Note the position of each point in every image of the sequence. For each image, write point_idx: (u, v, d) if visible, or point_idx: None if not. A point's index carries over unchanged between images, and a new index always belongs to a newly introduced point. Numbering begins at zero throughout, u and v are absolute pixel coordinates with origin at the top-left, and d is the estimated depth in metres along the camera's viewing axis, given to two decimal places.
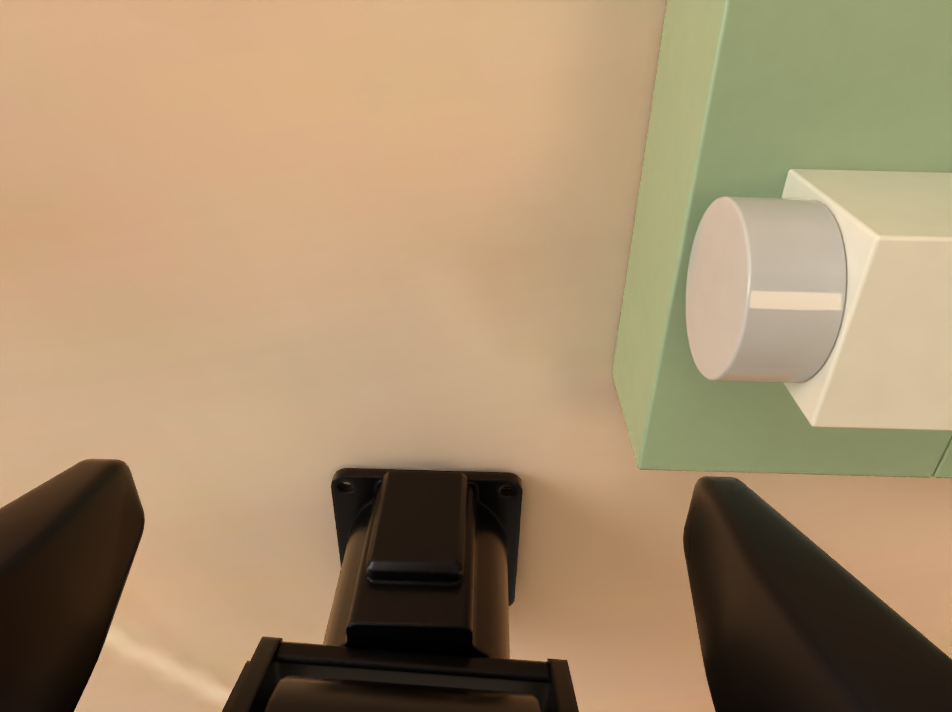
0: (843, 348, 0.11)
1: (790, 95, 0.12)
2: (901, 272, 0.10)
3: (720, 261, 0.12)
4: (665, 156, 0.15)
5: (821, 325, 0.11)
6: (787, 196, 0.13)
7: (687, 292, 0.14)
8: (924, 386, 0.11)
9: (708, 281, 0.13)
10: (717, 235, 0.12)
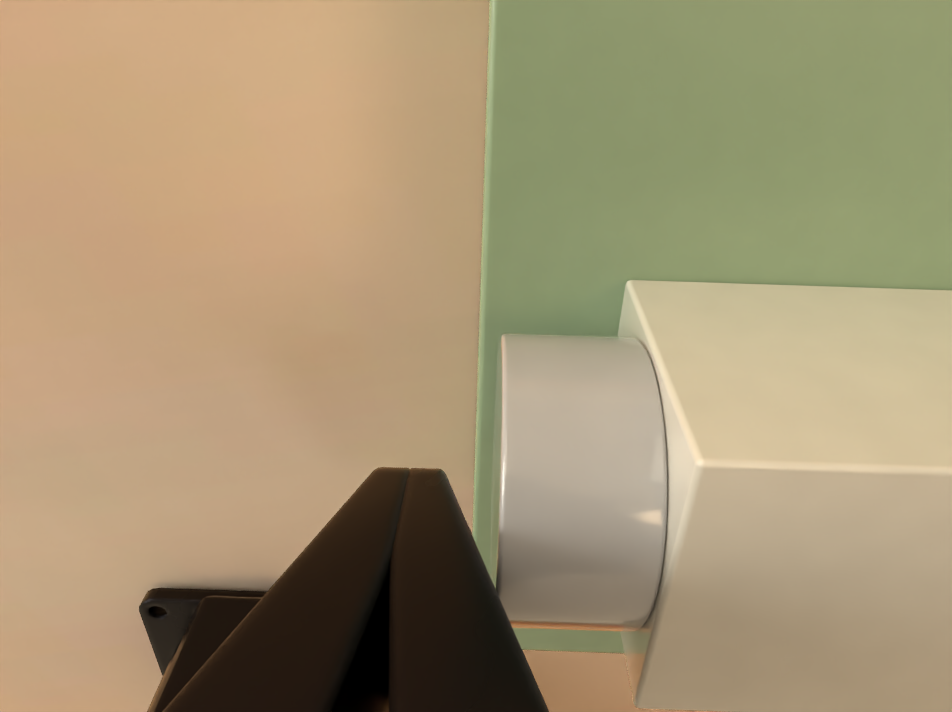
0: (666, 615, 0.07)
1: (610, 174, 0.08)
2: (747, 515, 0.06)
3: (497, 439, 0.08)
4: None
5: (627, 579, 0.07)
6: (624, 321, 0.09)
7: None
8: (807, 664, 0.07)
9: (495, 455, 0.08)
10: (498, 393, 0.08)
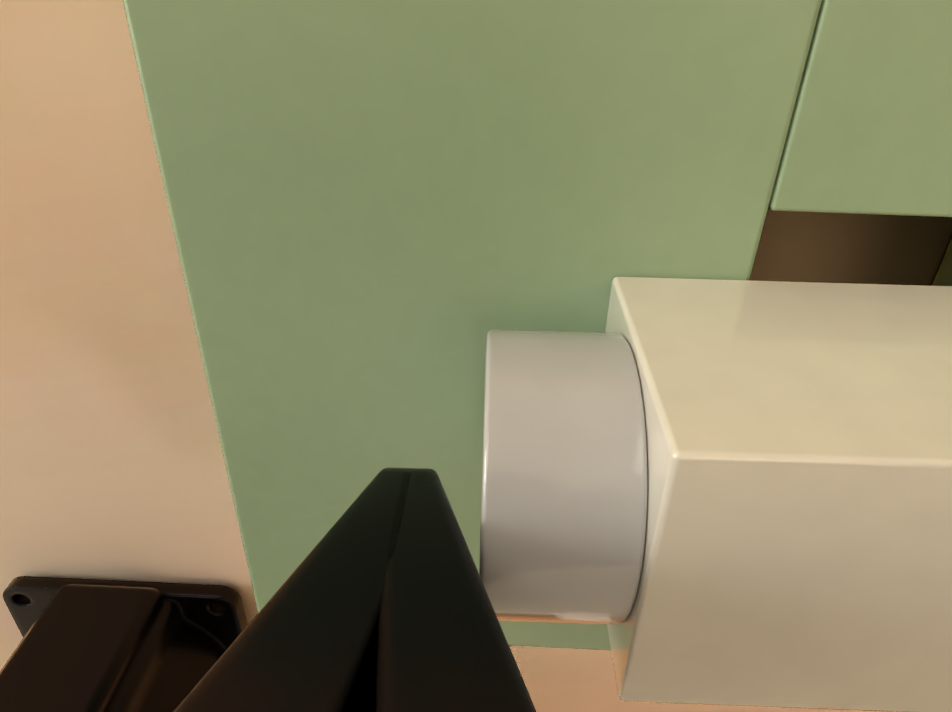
0: (648, 606, 0.07)
1: (276, 160, 0.08)
2: (724, 507, 0.06)
3: None
4: None
5: (609, 571, 0.07)
6: (611, 317, 0.09)
7: None
8: (789, 656, 0.07)
9: None
10: None
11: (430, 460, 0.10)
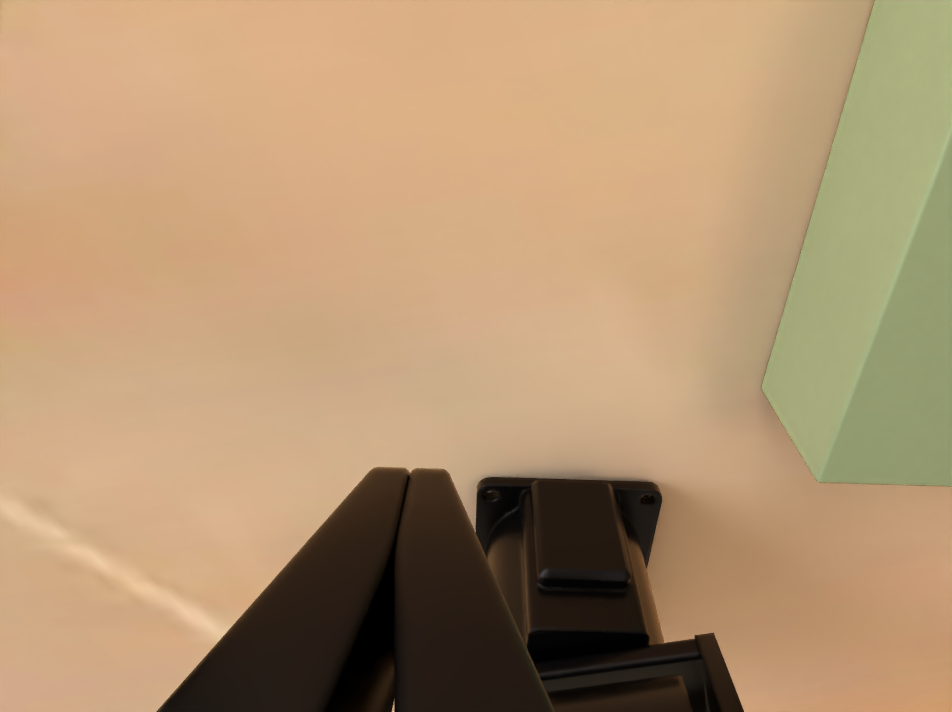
0: None
1: None
2: None
3: None
4: (865, 186, 0.16)
5: None
6: None
7: None
8: None
9: None
10: None
11: None
